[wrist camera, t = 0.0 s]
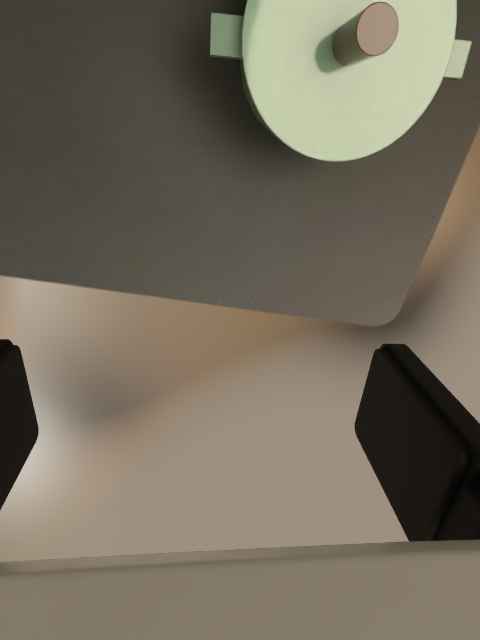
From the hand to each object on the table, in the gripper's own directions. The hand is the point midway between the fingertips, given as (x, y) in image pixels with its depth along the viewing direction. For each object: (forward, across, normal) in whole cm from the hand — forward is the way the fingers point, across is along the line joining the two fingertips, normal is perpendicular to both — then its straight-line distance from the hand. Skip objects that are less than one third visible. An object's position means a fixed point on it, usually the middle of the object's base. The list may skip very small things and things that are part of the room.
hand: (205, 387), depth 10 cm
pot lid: (+24, -10, -12) cm, 28 cm away
